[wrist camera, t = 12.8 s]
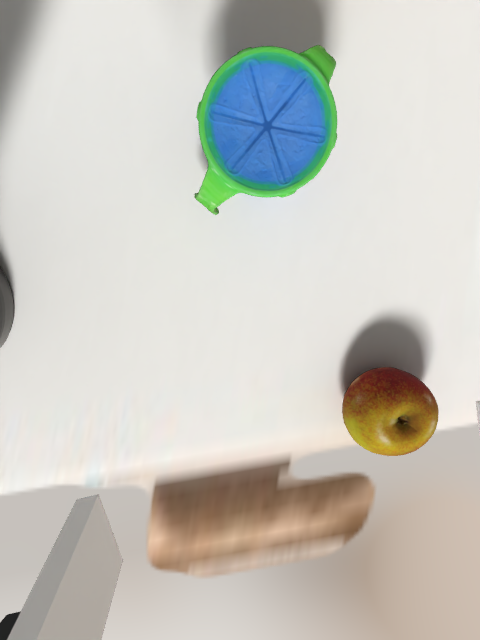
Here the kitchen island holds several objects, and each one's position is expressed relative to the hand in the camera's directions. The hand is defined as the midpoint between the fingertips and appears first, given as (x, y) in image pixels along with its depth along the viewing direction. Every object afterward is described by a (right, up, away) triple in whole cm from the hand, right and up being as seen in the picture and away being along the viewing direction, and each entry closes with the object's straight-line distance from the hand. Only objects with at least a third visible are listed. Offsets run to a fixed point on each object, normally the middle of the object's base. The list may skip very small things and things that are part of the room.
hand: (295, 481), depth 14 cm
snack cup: (0, +23, +27) cm, 35 cm away
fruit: (+14, -3, +34) cm, 37 cm away
